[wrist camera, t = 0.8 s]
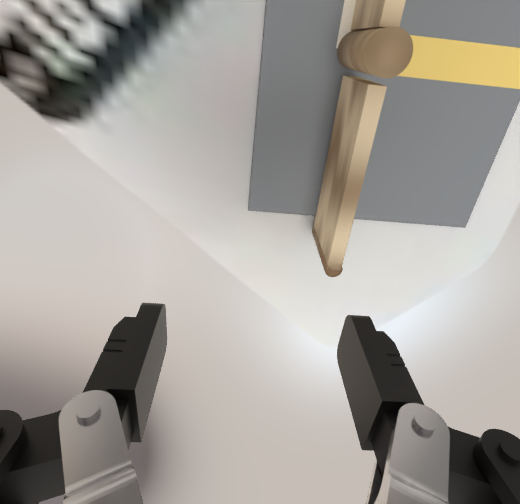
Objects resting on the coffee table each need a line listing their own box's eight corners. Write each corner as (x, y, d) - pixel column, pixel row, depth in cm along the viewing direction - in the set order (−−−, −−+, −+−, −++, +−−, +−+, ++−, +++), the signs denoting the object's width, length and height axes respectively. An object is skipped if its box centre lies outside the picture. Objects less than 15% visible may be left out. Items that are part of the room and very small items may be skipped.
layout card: (300, -389, 15) (301, -400, 15) (690, -311, 17) (701, -320, 16) (248, 208, 30) (248, 210, 29) (462, 225, 31) (465, 227, 30)
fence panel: (341, 75, 24) (366, 84, 19) (358, 77, 24) (389, 86, 19) (310, 236, 30) (323, 276, 25) (324, 237, 30) (340, 277, 25)
